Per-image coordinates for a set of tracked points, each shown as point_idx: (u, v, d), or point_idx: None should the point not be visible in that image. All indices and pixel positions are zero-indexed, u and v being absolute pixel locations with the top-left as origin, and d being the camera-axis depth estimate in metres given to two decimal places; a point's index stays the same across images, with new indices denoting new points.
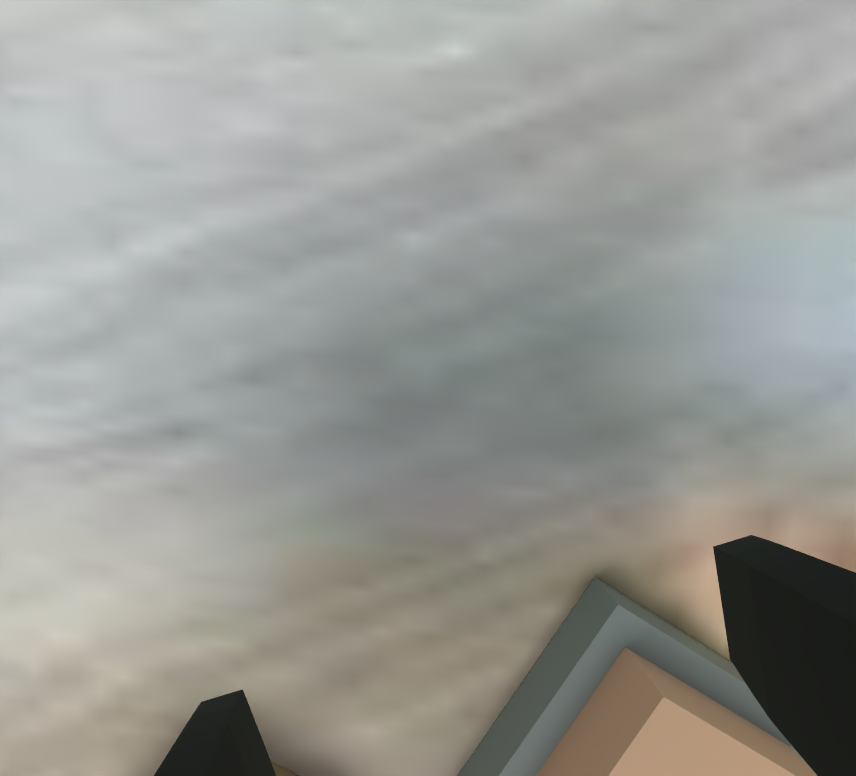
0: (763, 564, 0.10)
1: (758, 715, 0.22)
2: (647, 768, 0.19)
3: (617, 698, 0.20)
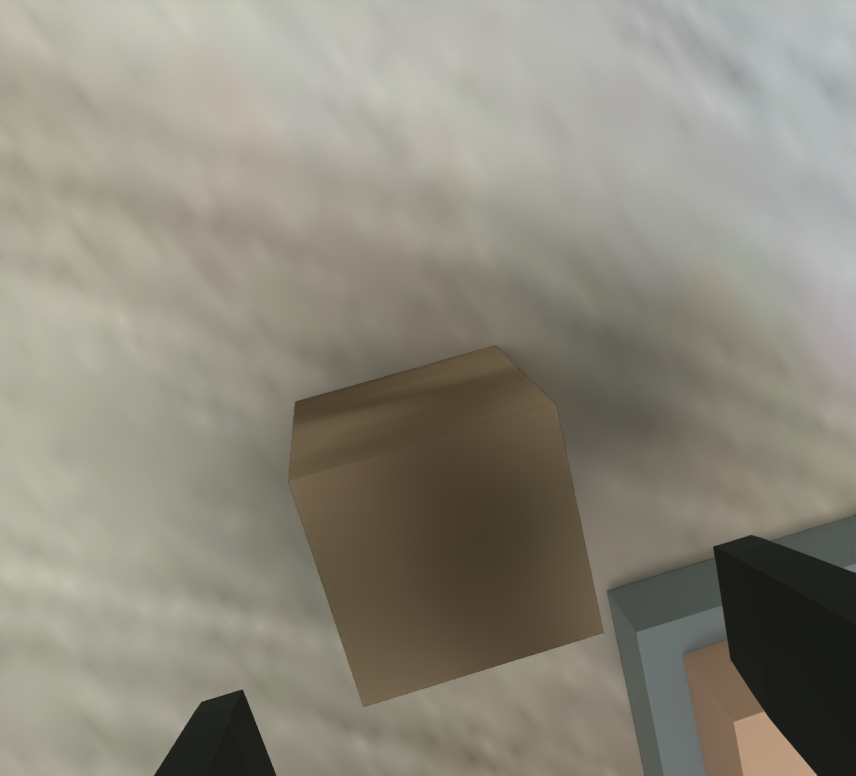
0: (763, 564, 0.10)
1: None
2: None
3: None
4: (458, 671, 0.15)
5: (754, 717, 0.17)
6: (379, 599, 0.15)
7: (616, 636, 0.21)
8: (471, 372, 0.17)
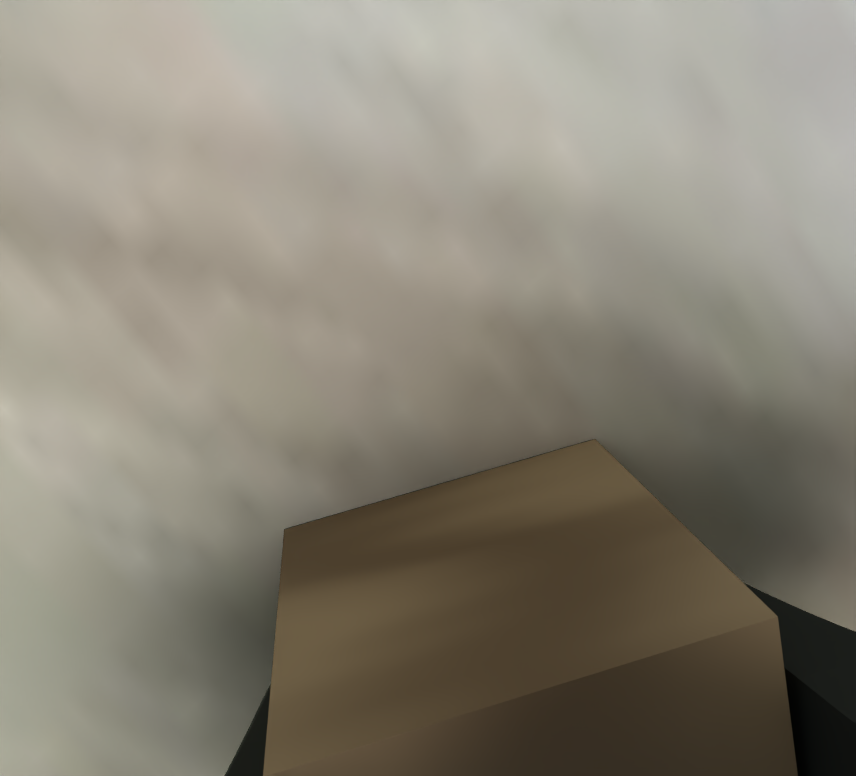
0: None
1: None
2: None
3: None
4: None
5: None
6: None
7: None
8: (572, 499, 0.10)
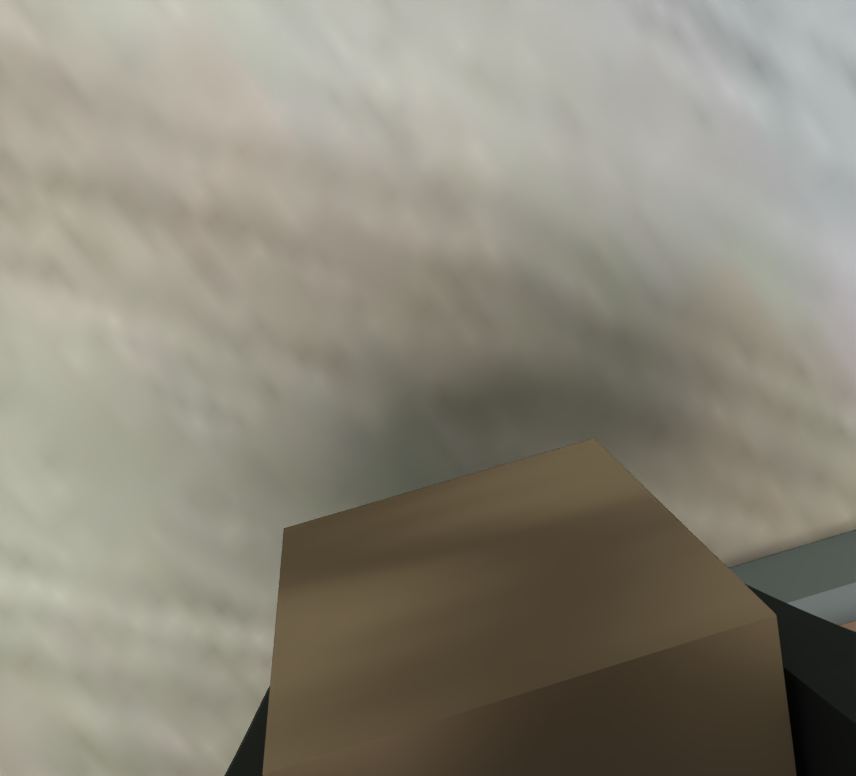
0: None
1: None
2: None
3: None
4: None
5: None
6: None
7: None
8: (571, 499, 0.10)
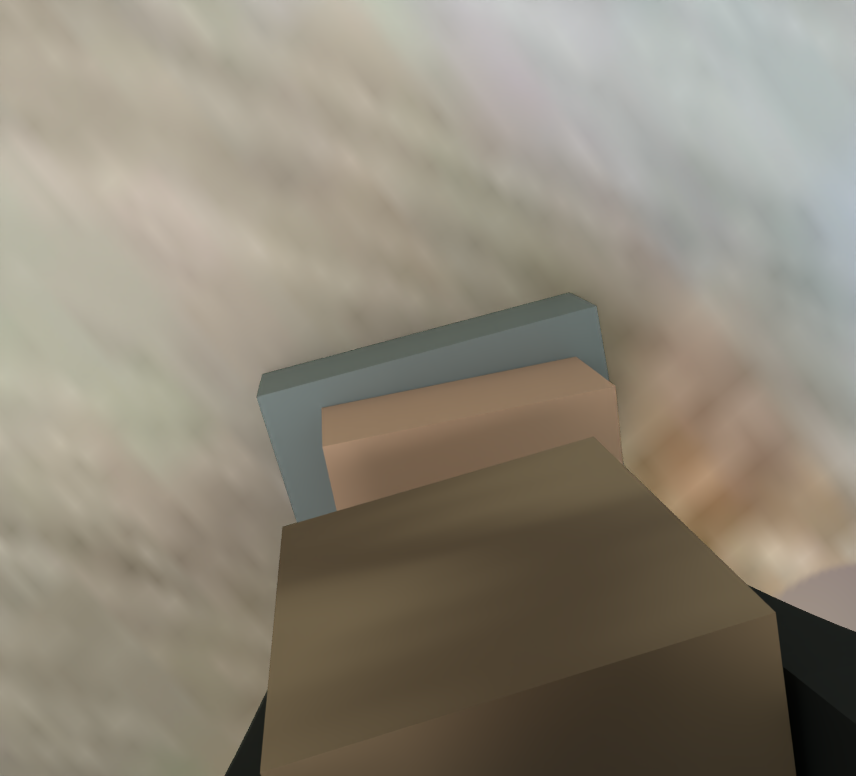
0: None
1: None
2: (538, 437, 0.16)
3: (546, 377, 0.17)
4: None
5: (348, 445, 0.15)
6: None
7: None
8: (570, 497, 0.10)
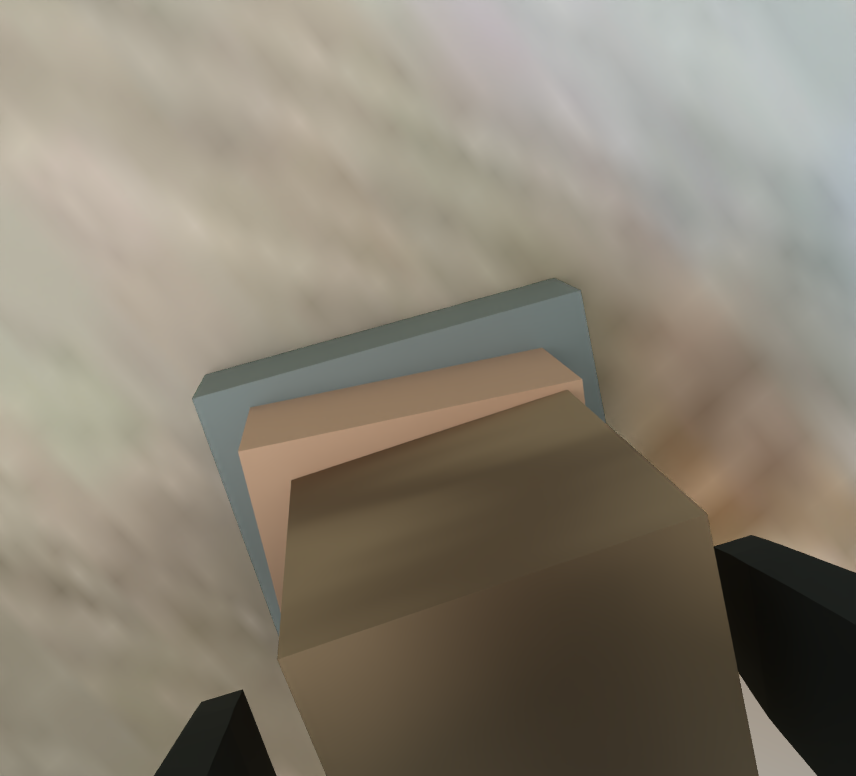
0: (763, 564, 0.10)
1: None
2: None
3: (505, 370, 0.15)
4: None
5: (268, 449, 0.13)
6: None
7: None
8: (543, 439, 0.12)
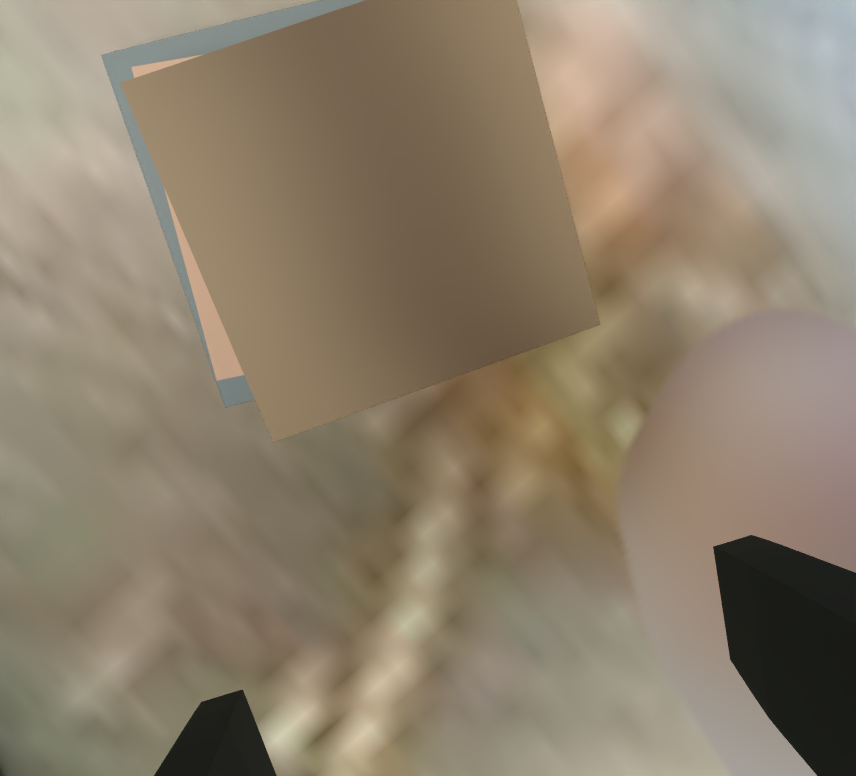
0: (763, 564, 0.10)
1: None
2: None
3: None
4: (401, 386, 0.11)
5: (160, 66, 0.14)
6: (276, 274, 0.10)
7: None
8: None
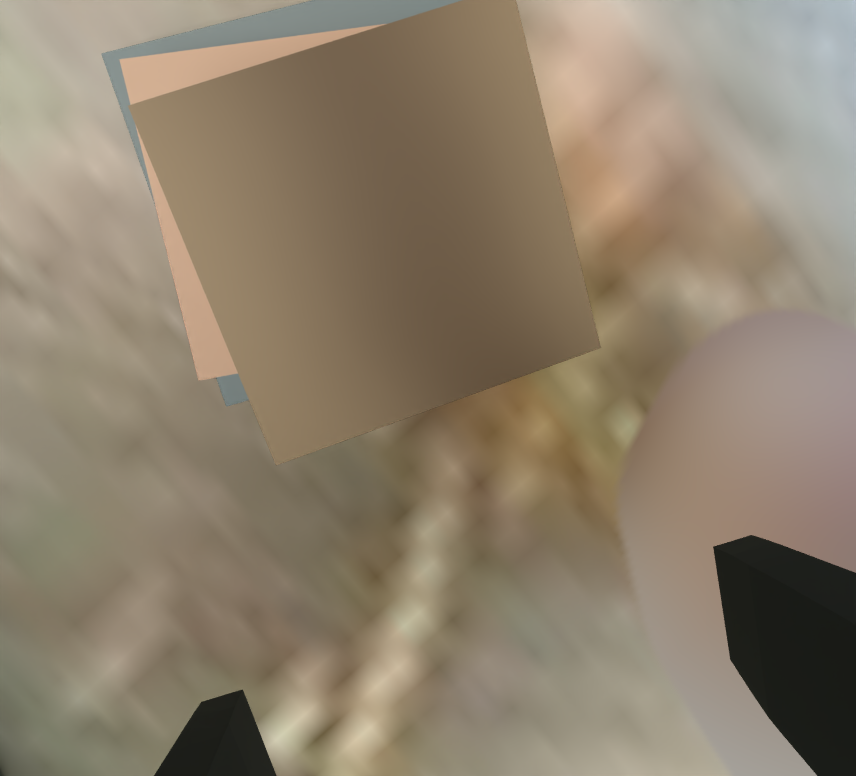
0: (763, 564, 0.10)
1: None
2: None
3: None
4: (405, 408, 0.11)
5: (148, 59, 0.14)
6: (282, 298, 0.10)
7: None
8: None
